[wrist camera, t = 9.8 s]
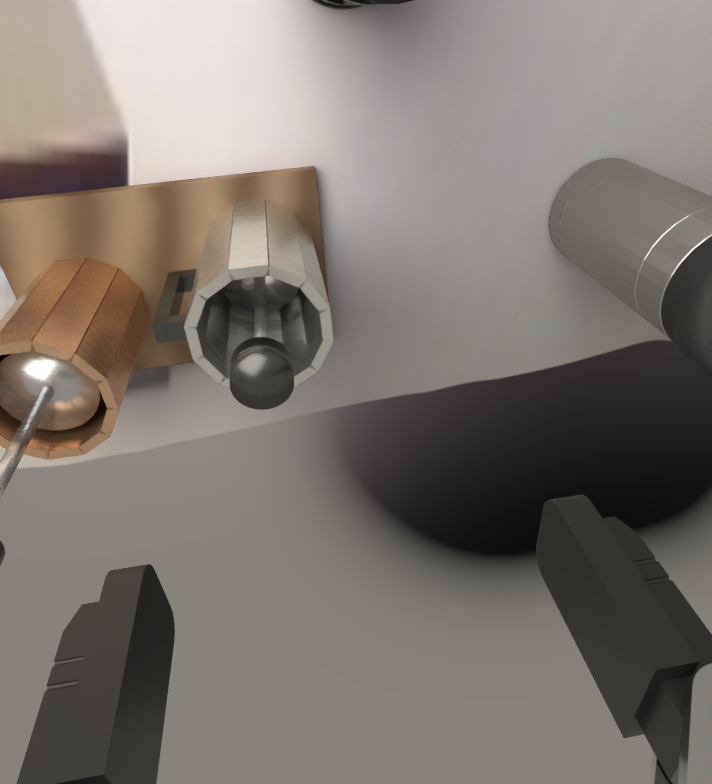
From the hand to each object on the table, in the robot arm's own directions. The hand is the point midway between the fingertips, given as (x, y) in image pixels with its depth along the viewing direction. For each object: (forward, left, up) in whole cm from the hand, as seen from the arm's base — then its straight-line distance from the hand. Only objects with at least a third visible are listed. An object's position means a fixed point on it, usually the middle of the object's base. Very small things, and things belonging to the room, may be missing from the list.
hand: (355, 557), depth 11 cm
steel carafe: (+4, +8, -39) cm, 40 cm away
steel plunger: (+3, +8, -35) cm, 36 cm away
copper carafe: (+19, +11, -39) cm, 45 cm away
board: (+10, +10, -40) cm, 43 cm away
